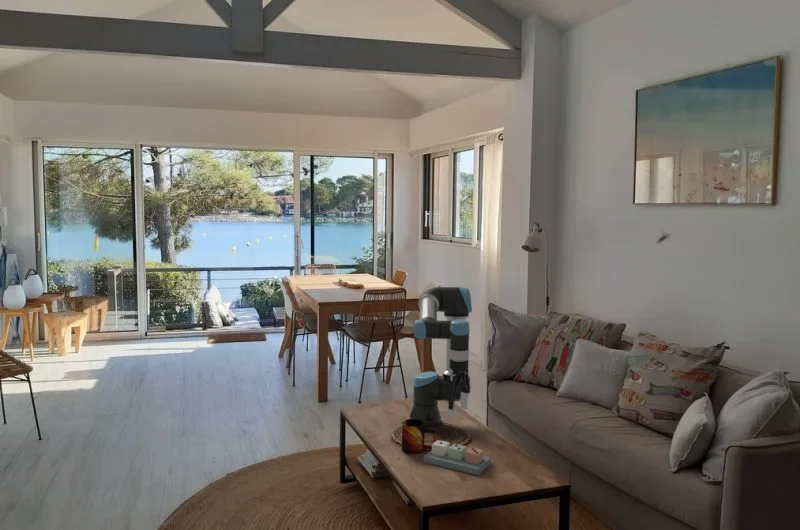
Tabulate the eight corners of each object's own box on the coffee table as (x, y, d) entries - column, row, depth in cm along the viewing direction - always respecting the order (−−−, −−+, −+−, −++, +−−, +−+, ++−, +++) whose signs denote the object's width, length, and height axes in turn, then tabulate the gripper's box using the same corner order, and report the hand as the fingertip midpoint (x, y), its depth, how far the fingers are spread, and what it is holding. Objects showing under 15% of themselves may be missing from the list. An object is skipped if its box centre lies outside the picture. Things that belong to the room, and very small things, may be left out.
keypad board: (437, 450, 274) (437, 445, 273) (490, 463, 262) (490, 457, 262) (423, 461, 262) (423, 456, 262) (478, 475, 251) (478, 469, 250)
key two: (453, 453, 266) (454, 442, 265) (466, 456, 263) (466, 445, 262) (448, 458, 261) (448, 447, 260) (460, 461, 258) (460, 450, 258)
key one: (437, 449, 269) (437, 439, 269) (449, 452, 267) (449, 441, 266) (431, 454, 265) (431, 443, 264) (443, 457, 262) (443, 446, 261)
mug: (436, 452, 272) (437, 425, 271) (405, 455, 269) (405, 427, 267) (429, 443, 281) (430, 417, 280) (399, 446, 278) (399, 419, 277)
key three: (470, 457, 262) (471, 446, 262) (483, 460, 259) (483, 449, 259) (465, 462, 257) (465, 451, 257) (478, 465, 255) (478, 454, 254)
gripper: (462, 351, 269) (461, 402, 272) (437, 364, 249) (436, 419, 251) (479, 354, 266) (477, 405, 268) (455, 367, 245) (453, 423, 248)
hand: (457, 412), depth 260 cm, fingers open, 11 cm apart
